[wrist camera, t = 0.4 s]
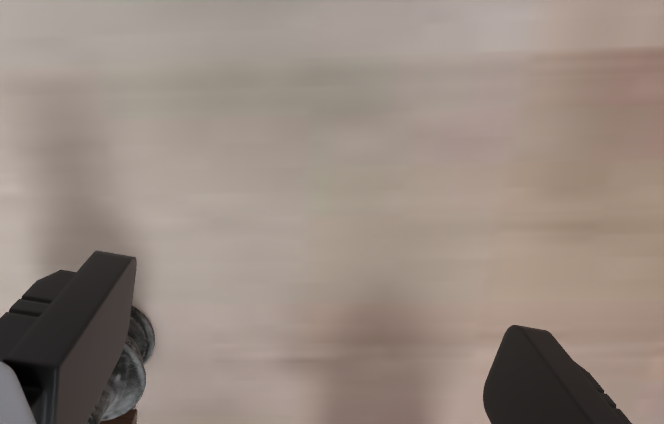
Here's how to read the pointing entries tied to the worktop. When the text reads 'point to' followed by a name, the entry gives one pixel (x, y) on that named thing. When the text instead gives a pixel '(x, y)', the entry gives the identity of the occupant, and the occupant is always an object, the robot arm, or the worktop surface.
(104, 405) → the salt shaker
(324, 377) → the worktop surface
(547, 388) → the robot arm
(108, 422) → the tray
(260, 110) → the worktop surface
